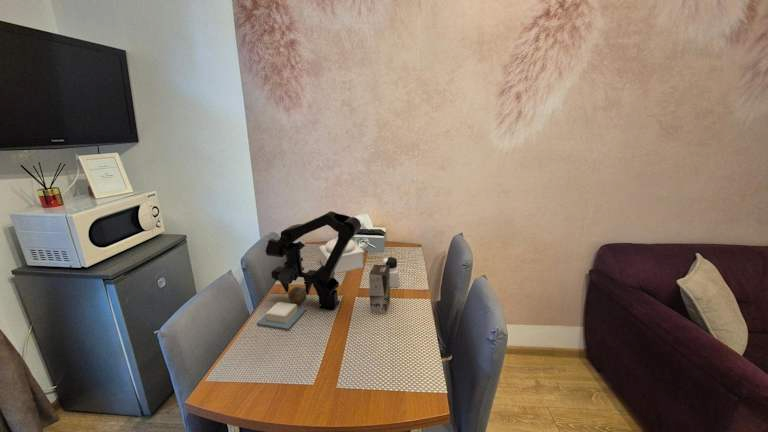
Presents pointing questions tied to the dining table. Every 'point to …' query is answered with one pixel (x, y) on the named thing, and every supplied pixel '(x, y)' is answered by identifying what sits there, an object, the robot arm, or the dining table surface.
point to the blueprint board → (282, 325)
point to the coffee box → (379, 288)
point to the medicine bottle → (392, 270)
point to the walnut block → (297, 295)
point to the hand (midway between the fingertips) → (297, 293)
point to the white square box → (343, 256)
